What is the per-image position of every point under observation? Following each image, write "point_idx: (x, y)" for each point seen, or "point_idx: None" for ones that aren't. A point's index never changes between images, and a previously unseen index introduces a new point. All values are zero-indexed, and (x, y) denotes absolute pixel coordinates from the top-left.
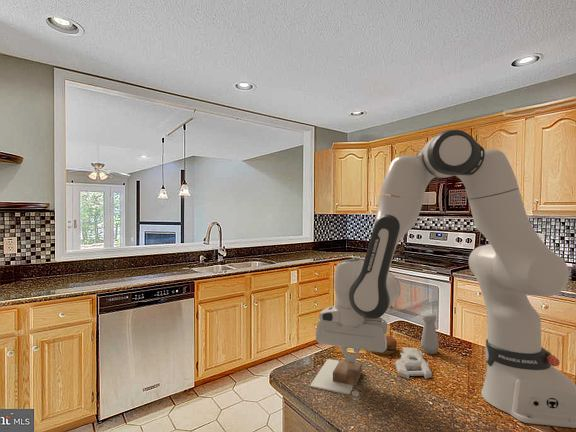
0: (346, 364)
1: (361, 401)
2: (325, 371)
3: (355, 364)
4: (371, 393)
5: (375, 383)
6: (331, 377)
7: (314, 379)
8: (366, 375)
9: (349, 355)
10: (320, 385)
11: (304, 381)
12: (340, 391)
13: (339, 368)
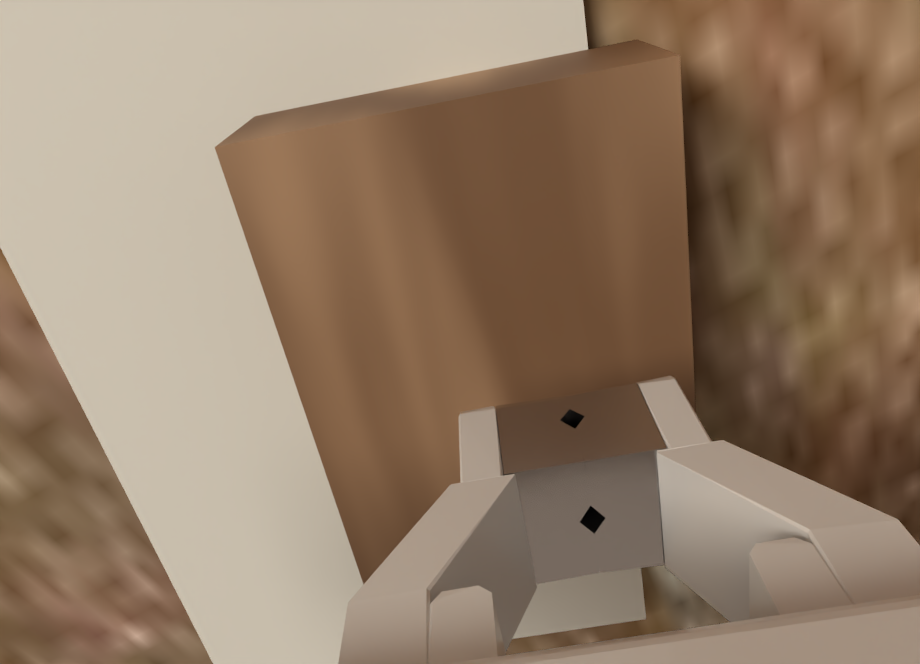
0: (426, 279)
1: None
2: (149, 362)
3: (581, 190)
4: (857, 485)
5: (889, 258)
6: (317, 457)
7: (178, 581)
8: (728, 95)
9: (561, 518)
10: (312, 637)
11: (104, 619)
12: (548, 632)
13: (390, 462)
